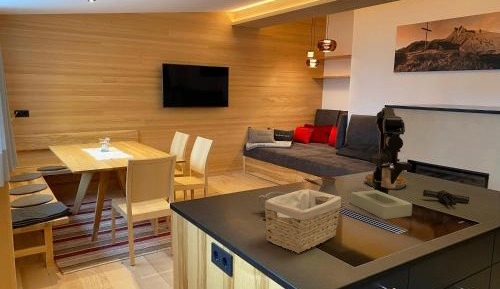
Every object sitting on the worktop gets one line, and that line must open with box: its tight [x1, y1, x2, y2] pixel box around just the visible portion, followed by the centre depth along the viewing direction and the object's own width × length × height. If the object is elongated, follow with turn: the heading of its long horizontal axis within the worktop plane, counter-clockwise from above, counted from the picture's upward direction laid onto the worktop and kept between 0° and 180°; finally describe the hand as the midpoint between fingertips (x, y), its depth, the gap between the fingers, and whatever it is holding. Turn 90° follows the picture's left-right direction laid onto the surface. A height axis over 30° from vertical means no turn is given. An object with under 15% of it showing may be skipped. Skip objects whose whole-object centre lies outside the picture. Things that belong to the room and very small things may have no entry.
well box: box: [350, 189, 413, 220], centre depth 158 cm, size 22×14×5 cm, turn 21°
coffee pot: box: [301, 176, 340, 205], centre depth 156 cm, size 21×12×15 cm, turn 128°
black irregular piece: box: [422, 189, 470, 206], centre depth 166 cm, size 5×20×15 cm
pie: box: [364, 173, 408, 190], centre depth 200 cm, size 22×22×5 cm
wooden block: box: [381, 166, 396, 188], centre depth 156 cm, size 4×4×8 cm
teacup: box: [257, 191, 288, 210], centre depth 150 cm, size 14×11×8 cm
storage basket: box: [264, 188, 342, 252], centre depth 124 cm, size 24×16×15 cm
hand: (388, 182), depth 156 cm, fingers closed on wooden block, 4 cm apart
